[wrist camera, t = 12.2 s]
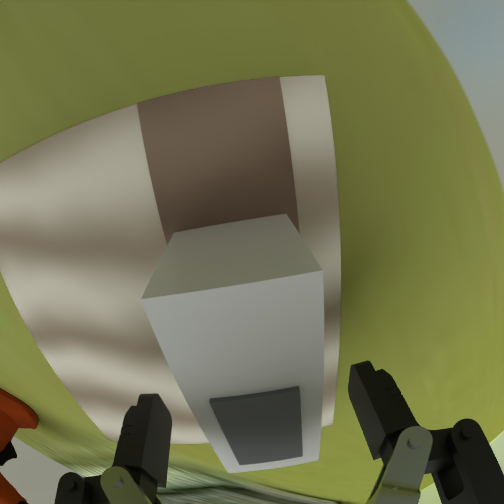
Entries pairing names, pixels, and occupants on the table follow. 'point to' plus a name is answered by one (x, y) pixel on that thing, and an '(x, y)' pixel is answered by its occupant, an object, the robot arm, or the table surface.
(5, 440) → the toy drill
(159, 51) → the table surface
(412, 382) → the table surface
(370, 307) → the table surface
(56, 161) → the subfloor panel
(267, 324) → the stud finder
